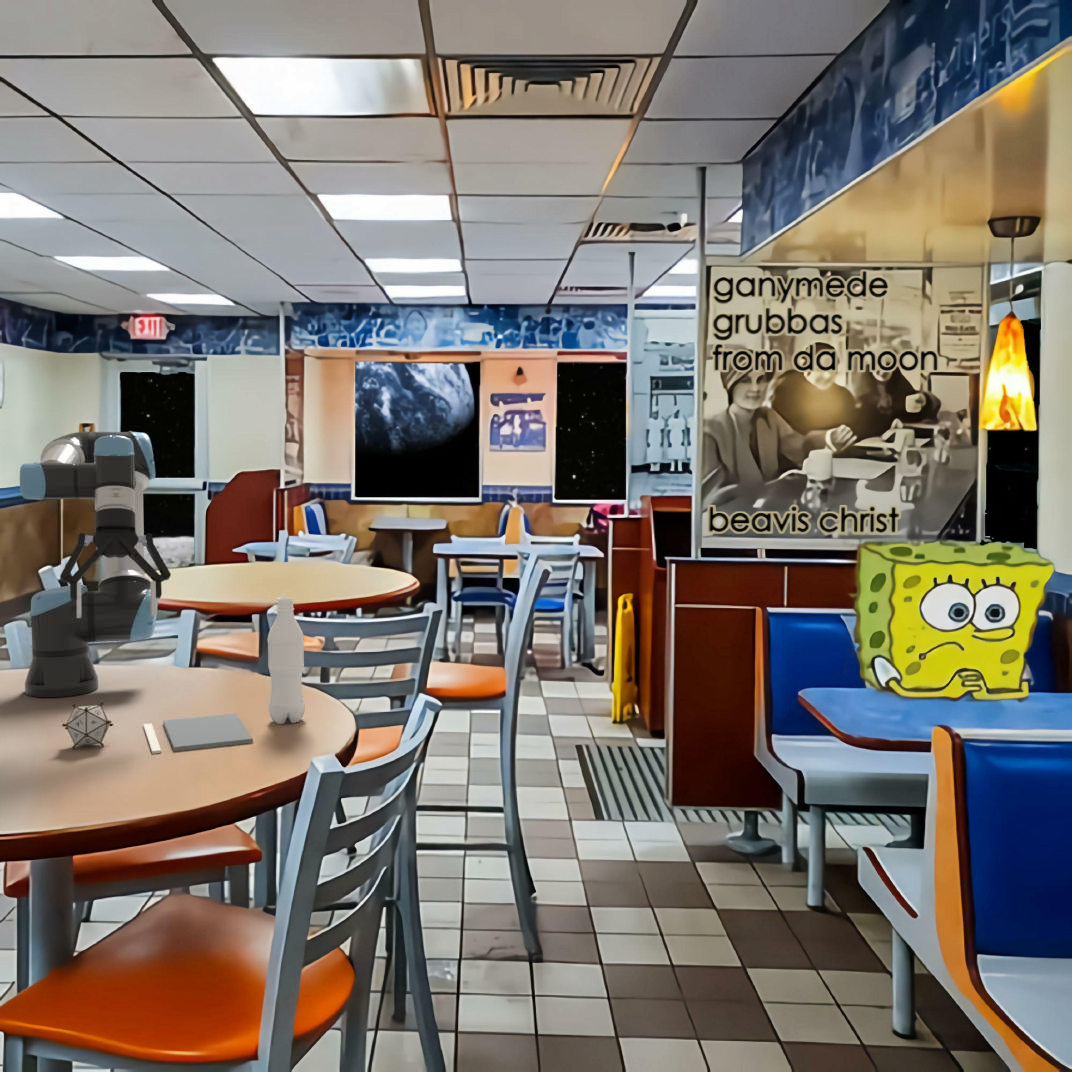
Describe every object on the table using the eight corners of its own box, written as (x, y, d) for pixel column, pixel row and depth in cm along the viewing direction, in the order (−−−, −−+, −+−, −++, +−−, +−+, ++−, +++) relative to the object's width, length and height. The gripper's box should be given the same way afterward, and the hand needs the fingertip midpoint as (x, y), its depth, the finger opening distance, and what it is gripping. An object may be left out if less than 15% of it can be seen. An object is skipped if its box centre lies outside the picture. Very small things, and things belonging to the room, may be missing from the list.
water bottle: (312, 718, 215) (310, 596, 213) (292, 727, 208) (290, 601, 206) (281, 715, 217) (279, 595, 215) (261, 723, 210) (259, 599, 208)
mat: (163, 724, 209) (163, 720, 209) (235, 717, 215) (235, 713, 215) (174, 751, 191) (174, 747, 191) (252, 742, 197) (252, 738, 197)
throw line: (143, 726, 208) (143, 724, 208) (151, 725, 208) (151, 723, 208) (152, 753, 190) (152, 751, 190) (161, 752, 190) (161, 750, 190)
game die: (93, 768, 193) (89, 734, 187) (54, 749, 195) (48, 715, 188) (125, 734, 200) (122, 700, 194) (87, 716, 201) (82, 682, 195)
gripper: (46, 505, 203) (46, 613, 198) (182, 507, 213) (185, 610, 208) (46, 516, 209) (46, 621, 204) (178, 517, 220) (181, 617, 215)
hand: (116, 615), depth 206 cm, fingers open, 13 cm apart
